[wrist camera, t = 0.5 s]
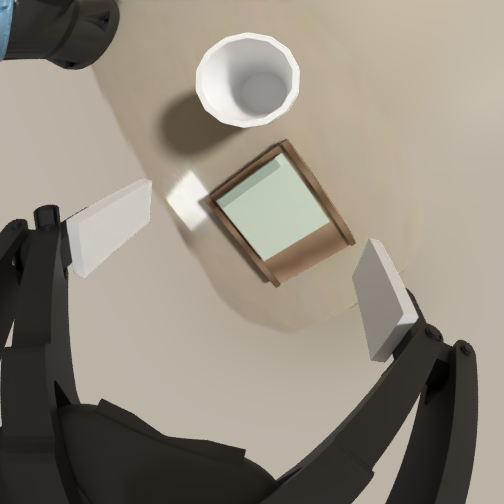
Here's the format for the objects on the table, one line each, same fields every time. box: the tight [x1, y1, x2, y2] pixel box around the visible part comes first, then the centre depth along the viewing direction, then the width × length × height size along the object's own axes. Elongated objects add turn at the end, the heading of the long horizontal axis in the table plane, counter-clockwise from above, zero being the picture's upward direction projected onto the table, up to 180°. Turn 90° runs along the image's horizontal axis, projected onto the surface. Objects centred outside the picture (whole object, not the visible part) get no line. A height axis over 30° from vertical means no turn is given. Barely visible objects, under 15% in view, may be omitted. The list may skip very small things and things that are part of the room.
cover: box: [216, 153, 329, 261], centre depth 35 cm, size 11×11×3 cm
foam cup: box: [196, 32, 300, 128], centre depth 26 cm, size 10×9×13 cm
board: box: [205, 139, 356, 288], centre depth 38 cm, size 17×14×3 cm
